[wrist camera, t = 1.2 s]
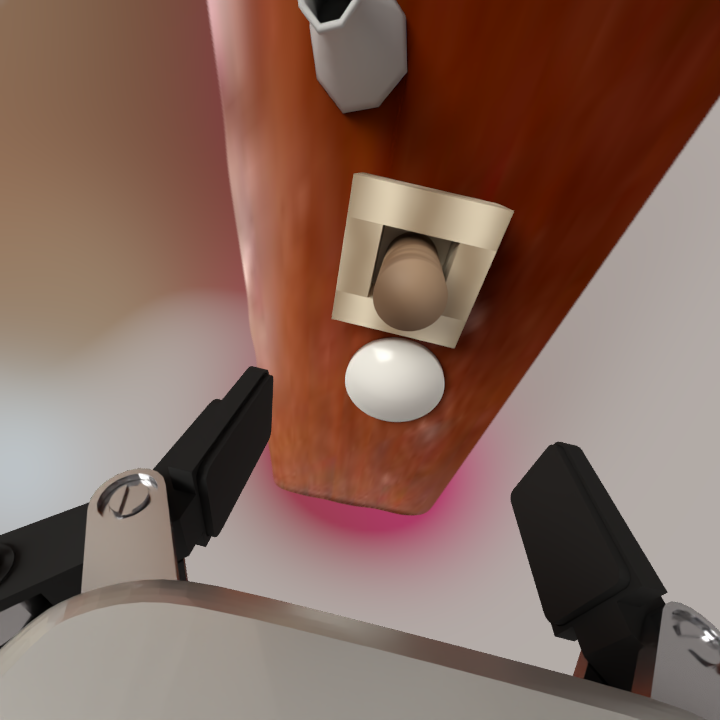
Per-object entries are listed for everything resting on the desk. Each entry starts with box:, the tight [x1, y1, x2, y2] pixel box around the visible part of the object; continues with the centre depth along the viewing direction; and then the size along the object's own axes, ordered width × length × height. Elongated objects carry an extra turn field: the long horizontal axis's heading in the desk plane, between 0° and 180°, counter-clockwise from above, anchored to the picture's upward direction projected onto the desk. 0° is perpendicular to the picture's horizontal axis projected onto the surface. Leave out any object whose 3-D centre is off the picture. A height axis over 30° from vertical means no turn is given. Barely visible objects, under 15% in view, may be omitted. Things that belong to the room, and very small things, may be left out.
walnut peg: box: [373, 232, 448, 331], centre depth 25 cm, size 5×5×10 cm
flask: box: [298, 0, 407, 113], centre depth 18 cm, size 7×7×10 cm
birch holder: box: [332, 172, 514, 348], centre depth 27 cm, size 12×12×5 cm
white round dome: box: [345, 337, 444, 422], centre depth 37 cm, size 12×12×1 cm
